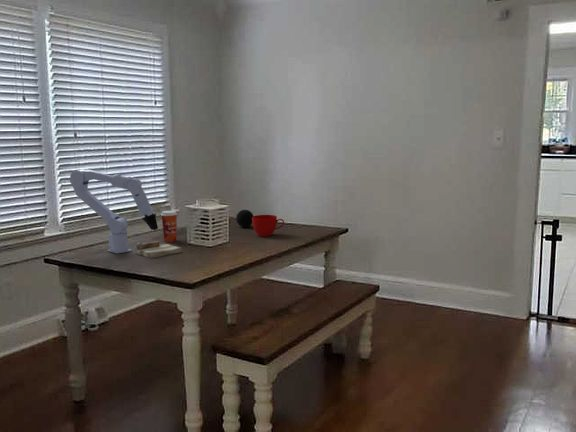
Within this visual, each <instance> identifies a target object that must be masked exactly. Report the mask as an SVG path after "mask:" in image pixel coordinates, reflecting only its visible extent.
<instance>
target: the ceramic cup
mask: <svg viewBox="0 0 576 432" xmlns="http://www.w3.org/2000/svg"><path fill="white" fill-rule="evenodd" d="M280 221H282V224H281V225H280V226H278V227H276V226H277V224H278V222H280ZM284 224H285V220H284V219H282V218H278V219H277V215H274V214H258V215H253V217H252V227H253V229H254V232H255V233H256V234H257V236H259V237H271V236H272V235H273V233H274V232H275V230H280V229H281V228H282V227H283V226H284Z"/></svg>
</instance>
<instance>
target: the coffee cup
mask: <svg viewBox="0 0 576 432" xmlns="http://www.w3.org/2000/svg"><path fill="white" fill-rule="evenodd" d="M160 216H161V224H162V233H163V240H164V242H165V243H170V242H171V243H172V242H176V241H177V233H178V232H177V231H178V230H177V227H178V225H177V224H178V223H177V222H178V221H177V220H178V217H177V216H178V213H177V211H176V210H163V211H161V213H160Z"/></svg>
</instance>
